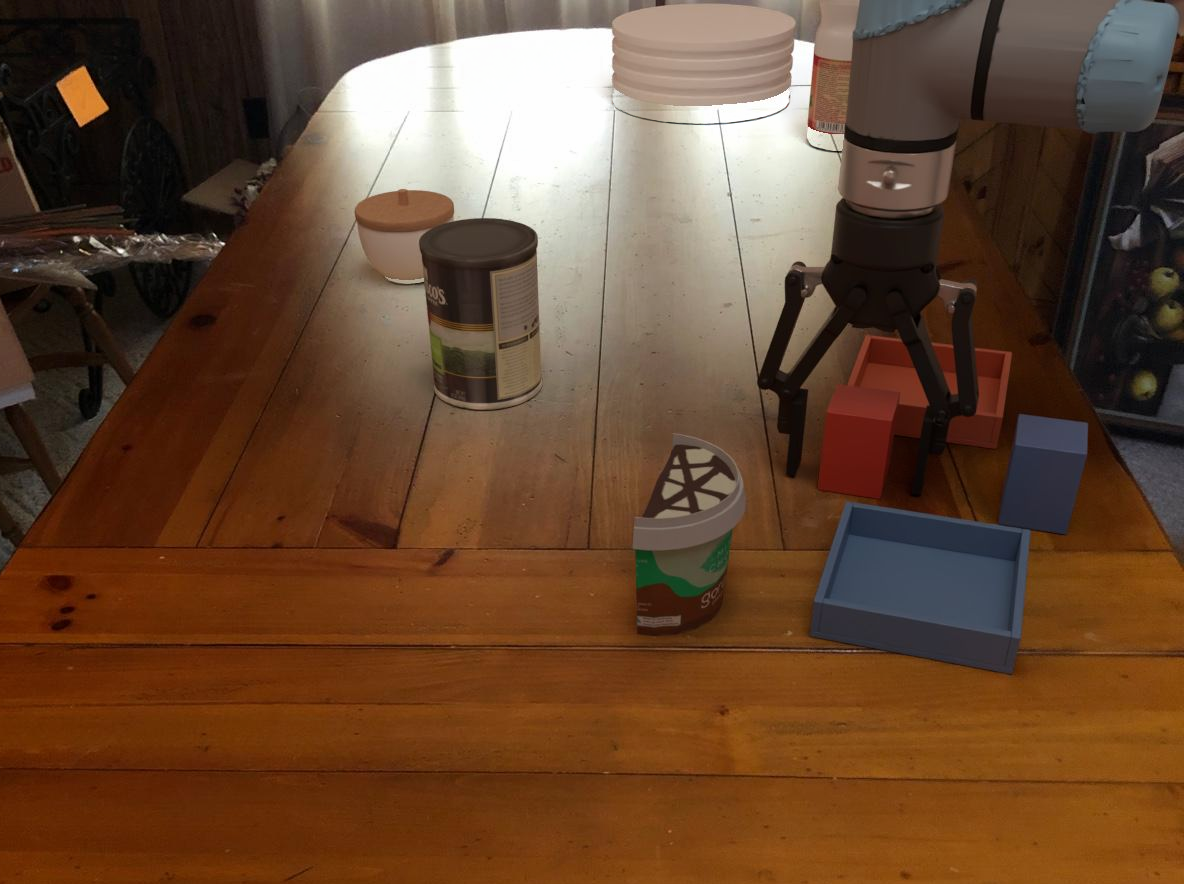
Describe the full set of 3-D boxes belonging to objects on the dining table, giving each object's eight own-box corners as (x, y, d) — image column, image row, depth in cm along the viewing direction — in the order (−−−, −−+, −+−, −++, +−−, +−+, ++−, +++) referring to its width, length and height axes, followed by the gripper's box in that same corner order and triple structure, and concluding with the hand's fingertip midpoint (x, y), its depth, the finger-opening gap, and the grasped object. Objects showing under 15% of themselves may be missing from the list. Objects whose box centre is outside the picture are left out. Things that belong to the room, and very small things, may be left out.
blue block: (1068, 501, 96) (1088, 422, 92) (1066, 535, 92) (1087, 454, 88) (1001, 492, 97) (1018, 413, 93) (997, 524, 93) (1015, 444, 89)
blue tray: (1022, 564, 89) (1030, 529, 87) (1012, 674, 79) (1021, 638, 77) (841, 534, 93) (845, 500, 91) (809, 636, 83) (813, 601, 81)
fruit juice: (828, 156, 168) (850, -73, 152) (793, 139, 175) (811, -82, 159) (886, 148, 171) (914, -79, 155) (849, 131, 178) (872, -87, 162)
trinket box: (345, 272, 137) (333, 189, 132) (425, 250, 143) (418, 168, 137) (395, 301, 130) (385, 214, 125) (478, 276, 136) (471, 191, 130)
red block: (889, 468, 100) (900, 391, 96) (880, 499, 96) (892, 420, 92) (828, 460, 102) (837, 383, 97) (817, 489, 98) (826, 411, 94)
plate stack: (824, 95, 194) (831, 17, 187) (718, 135, 178) (722, 51, 171) (685, 70, 209) (687, -4, 203) (576, 104, 193) (574, 25, 186)
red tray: (1006, 381, 112) (1012, 351, 111) (996, 449, 102) (1002, 417, 101) (862, 363, 116) (865, 334, 114) (838, 427, 106) (842, 396, 104)
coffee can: (443, 417, 109) (428, 265, 101) (426, 369, 117) (411, 224, 109) (555, 402, 111) (549, 251, 102) (531, 355, 119) (524, 212, 111)
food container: (721, 661, 81) (730, 535, 75) (631, 646, 82) (632, 521, 76) (752, 559, 90) (762, 439, 84) (671, 547, 92) (674, 429, 86)
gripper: (725, 203, 86) (711, 478, 99) (1054, 234, 80) (992, 522, 93) (749, 171, 91) (732, 435, 105) (1057, 197, 85) (998, 474, 99)
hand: (854, 476), depth 99 cm, fingers open, 9 cm apart
